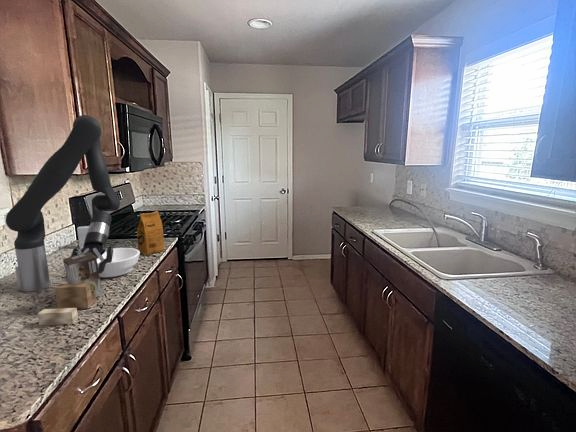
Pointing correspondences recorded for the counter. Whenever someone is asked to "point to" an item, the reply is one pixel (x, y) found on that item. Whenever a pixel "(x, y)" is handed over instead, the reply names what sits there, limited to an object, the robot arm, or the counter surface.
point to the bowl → (120, 262)
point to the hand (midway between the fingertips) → (87, 273)
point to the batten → (57, 316)
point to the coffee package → (150, 233)
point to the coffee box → (83, 271)
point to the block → (74, 296)
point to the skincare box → (82, 235)
